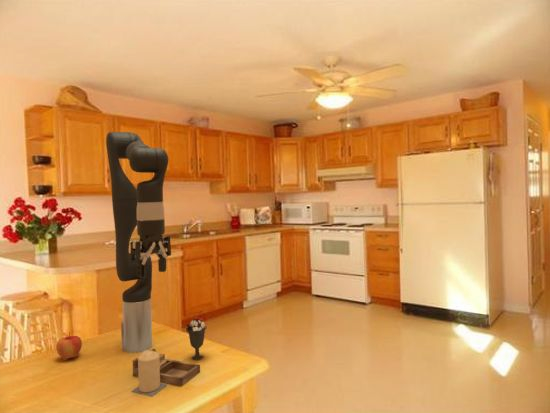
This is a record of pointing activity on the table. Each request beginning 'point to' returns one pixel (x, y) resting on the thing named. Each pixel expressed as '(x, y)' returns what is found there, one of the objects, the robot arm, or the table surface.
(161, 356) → the offcut upper
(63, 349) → the apple
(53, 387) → the table surface
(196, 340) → the sundae
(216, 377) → the table surface
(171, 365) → the tray
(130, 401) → the table surface
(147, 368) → the candle
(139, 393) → the coaster
